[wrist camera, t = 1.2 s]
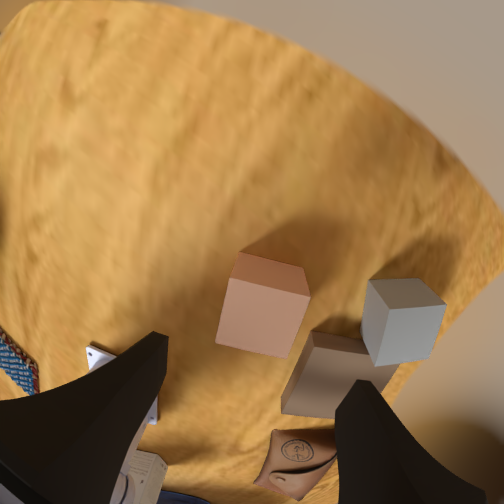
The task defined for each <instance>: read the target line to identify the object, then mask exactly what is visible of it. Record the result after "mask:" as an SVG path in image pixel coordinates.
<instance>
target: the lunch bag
mask: <svg viewBox="0 0 504 504" xmlns="http://www.w3.org/2000/svg"><path fill="white" fill-rule="evenodd" d="M156 504H210V503H209V502H207V501H204V500H202V499H200V498H197V497H193V496H187V495H183V494H179V493H173V492H167V491H161V490H160V494H159V497H158V500H157V503H156Z"/></svg>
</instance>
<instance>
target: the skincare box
mask: <svg viewBox="0 0 504 504" xmlns="http://www.w3.org/2000/svg"><path fill="white" fill-rule="evenodd" d="M128 464H129V465H131V467H130V469H129V472H128V474H130V475H131V476H132V478H133V480H134V485H135V490H136V493H135V499H134V502H133V504H156V503H157V500H158V497H159V494H160V490H161V488H162V484H163V481H164V478H165V475H166V472H167V469H168V466H167V464H166V463H165V462H164V461H163V459H162V458H161V457H160V456H159V455H158V454H153V453H148V452H144V451H139V450H136V451H135V454H134V456H133V458H132V459H131V461H130V462H128Z"/></svg>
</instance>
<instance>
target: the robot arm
mask: <svg viewBox="0 0 504 504" xmlns="http://www.w3.org/2000/svg"><path fill="white" fill-rule="evenodd" d="M168 338H169V336H166V335H163V334H160V333H157V332H154V331H153V332H151V333H149V334H148V335H147V336H145V337H144V338H143V339H141V340H140V341H139V342H137V343H136V344H134V345H133V346H132V347H130V348H129V349H127V350H126V351H124V352H123V353H121V354H120V355H118V356H114V355H112V354H110V353H107V352H105V351H103V350H100V349H98V348H96V347H94V346H91V345H88V346H87V347H86V352H87V358H88V364H89V369H90V371H89V372H88V373H87V374H86V375H84V376H82V377H80V378H78V379H76V380H74V381H72V382H69V383H67V384H65V385H62V386H59V387H57V388H54V389H51V390H48V391H45V392H42V393H38V394H34V395H30V396H26V397H21V398H16V399H10V400H1V401H0V504H133V502H134V499H135V493H136V490H135V485H134V480H133V478H132V476H131V475H130V474H128V472H129V469H130V467H131V465H129V464H128V462H130V461H131V459H132V458H133V456H134V454H135V451H136V449H137V447H138V444H139V442H140V440H141V437H142V435H143V433H144V430H145V428H146V426H147V424H148V423H150V424H153V425H156V424H157V398H158V393H159V390H160V388H161V386H162V383H163V380H164V378H165V375H166V370H167V352H168ZM335 442H336V451H337V461H338V471H339V500H338V504H488V501H487V498H486V495H485V491H484V490H482V489H480V488H478V487H476V486H474V485H472V484H470V483H468V482H466V481H464V480H462V479H461V478H459V477H458V476H456V475H455V474H453V473H452V472H450V471H449V470H447V469H446V468H445V467H444V466H442V465H441V464H440V463H439V462H438V461H437V460H435V459H434V458H433V457H432V456H431V455H430V454H429V453H428V452H427V451H426V450H425V449H424V448H423V447H422V446H421V445H420V444H419V443H418V442H417V441H416V440H415V438H414V437H413V436H412V435H411V434H410V432H409V431H408V430H407V429H406V428H405V426H404V425H403V424H402V423H401V421H400V420H399V419H398V417H397V416H396V415H395V413H394V412H393V411H392V409H391V408H390V406H389V405H388V404H387V402H386V401H385V400H384V398H383V397H382V395H381V394H380V393H379V391H378V390H377V389H376V387H375V386H374V385H373V384H372V382H371V381H368V380H360V379H357V380H356V381H355V383H354V384H353V386H352V387H351V389H350V390H349V392H348V393H347V395H346V396H345V397H344V399H343V400H342V402H341V403H340V404H339V406H338V407H337V409H336V410H335Z"/></svg>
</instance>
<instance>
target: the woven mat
mask: <svg viewBox="0 0 504 504" xmlns="http://www.w3.org/2000/svg"><path fill="white" fill-rule="evenodd" d="M0 368H1V369H3V370H5V372H6V374H7V375H8V376H10V377H11V379H12V380H14V382H16V383H17V385H18V386H20V387H22V388H23V390H24V392H27V394H29V395H34V394H38V393H39V391H38V384H37V378H38V375H37V365H36V363H35V362H34V365H33V364H32V362H31V359H29V358H26V354H25V353H24V352H23V356H22V355H21V350H20V349H19V348H16V345H15V344H14V343H13V345H12V344H11V340H10V339H9V342H8V339H7V337H6V334H5V333H2V329H1V328H0Z"/></svg>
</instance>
